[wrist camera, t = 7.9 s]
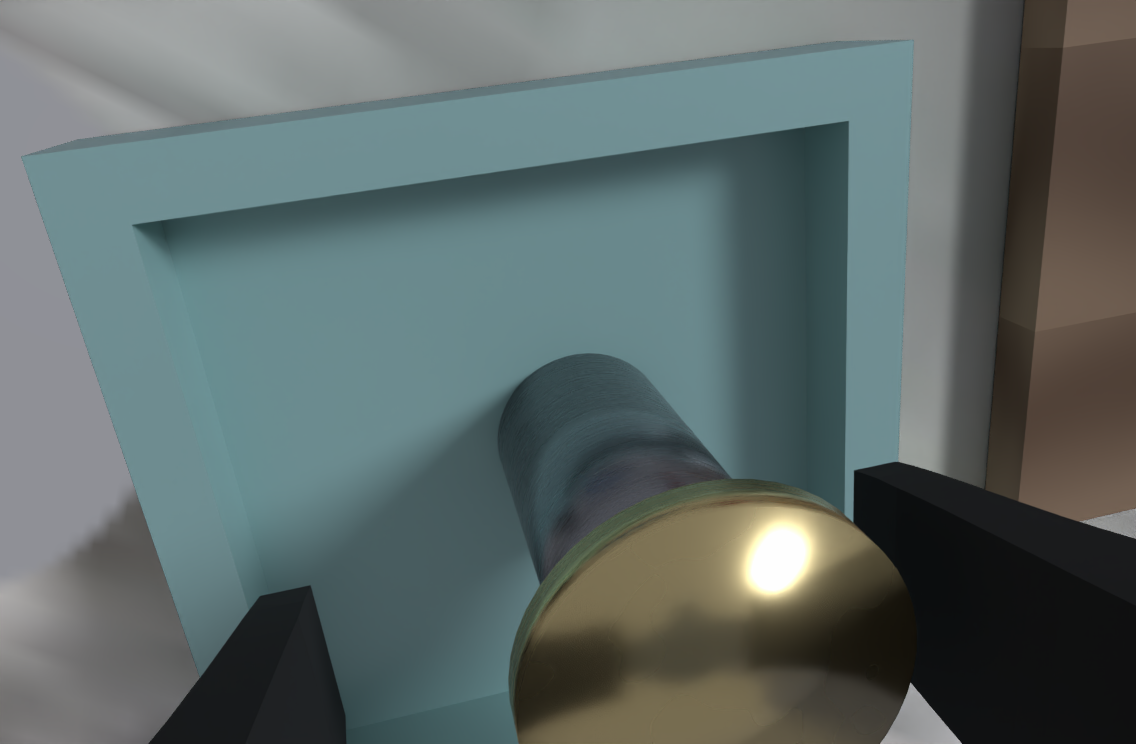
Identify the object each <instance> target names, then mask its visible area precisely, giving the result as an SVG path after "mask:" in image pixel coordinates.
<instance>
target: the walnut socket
mask: <svg viewBox="0 0 1136 744" xmlns="http://www.w3.org/2000/svg"><path fill="white" fill-rule="evenodd" d="M985 490H987V491H990V492H993V493H996V494H999V495H1002V496H1005V497H1007V498H1010V499H1013V500H1016V501H1019V502H1022V503H1025V504H1028V505H1031V506H1033V507H1036V508H1039V509H1042V510H1045V511H1048V512H1051V513H1054V514H1057V515H1060V516H1063V517H1066V518H1069V519H1072V520H1075V521H1078V522H1079V521H1083V520H1088V519H1092V518H1096V517H1100V516H1105V515H1109V514H1113V513H1118V512H1122V511H1126V510H1130V509H1135V508H1136V0H1025V7H1024V19H1023V32H1022V44H1021V56H1020V68H1019V81H1018V93H1017V105H1016V118H1015V130H1014V142H1013V154H1012V167H1011V179H1010V191H1009V204H1008V216H1007V228H1006V240H1005V253H1004V265H1003V277H1002V289H1001V302H1000V314H999V326H998V339H997V351H996V363H995V375H994V388H993V400H992V412H991V425H990V437H989V449H988V461H987V474H986V486H985Z"/></svg>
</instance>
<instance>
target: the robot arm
mask: <svg viewBox="0 0 1136 744" xmlns="http://www.w3.org/2000/svg"><path fill="white" fill-rule="evenodd" d="M853 523H854V524H855V525H856V526H857V527H858V528H859V529H860V530H861V531H862V532H863V533H865V534H866V535H867V536H868V537H869V538H870V539H871V540H872V541H873V542H874V543H875V544H876V545H877V546H878V547H879V548H880V549H881V550H882V551H883V552H884V553H885V554H886V556H887V557H888V558H889V559H890V561H891V562H892V563H893V565H894V566H895V567H896V568H897V570H898V572H899V574H900V575H901V577H902V579H903V581H904V583H905V585H906V587H907V589H908V592H909V595H910V598H911V601H912V604H913V607H914V613H915V620H916V627H917V651H916V658H915V664H914V671H913V675H912V678H911V683H912V684H913V686H914V687H915V688H916V689H917V691H918V692H919V693H920V694H921V695H922V697H923V698H924V699H925V700H926V701H927V703H928V704H929V705H930V706H931V707H932V709H933V710H934V711H935V712H936V713H937V714H938V716H939V717H940V718H941V719H942V720H943V722H944V723H945V724H946V725H947V726H948V727H949V729H950V730H951V731H952V732H953V733H954V735H955V736H956V737H957V738H958V739H959V740H960V742H961V743H962V744H1136V539H1134V538H1131V537H1127V536H1124V535H1121V534H1117V533H1114V532H1111V531H1107V530H1104V529H1100V528H1097V527H1094V526H1091V525H1088V524H1085V523H1082V522H1078V521H1075V520H1072V519H1069V518H1066V517H1063V516H1060V515H1057V514H1054V513H1051V512H1048V511H1045V510H1042V509H1039V508H1036V507H1033V506H1031V505H1028V504H1025V503H1022V502H1019V501H1016V500H1013V499H1010V498H1007V497H1005V496H1002V495H999V494H996V493H993V492H990V491H987V490H985V489H982V488H979V487H976V486H973V485H970V484H967V483H965V482H962V481H959V480H956V479H953V478H950V477H947V476H944V475H941V474H938V473H935V472H932V471H929V470H925V469H922V468H919V467H915V466H912V465H908V464H904V463H900V462H891V463H886V464H881V465H877V466H872V467H867V468H862V469H858V470H854V501H853ZM149 744H346V715H345V712H344V708H343V704H342V700H341V697H340V693H339V689H338V685H337V682H336V678H335V674H334V670H333V667H332V663H331V659H330V655H329V652H328V648H327V644H326V641H325V637H324V633H323V629H322V626H321V622H320V618H319V614H318V611H317V607H316V603H315V599H314V596H313V592H312V588H311V585H309V586H304V587H300V588H295V589H290V590H285V591H281V592H276V593H271V594H266V595H262V596H259V598H258V599H257V600H256V602H255V603H254V604H253V606H252V607H251V608H250V610H249V611H248V612H247V614H246V615H245V616H244V618H243V619H242V620H241V622H240V623H239V624H238V626H237V627H236V629H235V630H234V631H233V633H232V634H231V636H230V637H229V638H228V640H227V641H226V643H225V644H224V645H223V647H222V648H221V650H220V651H219V652H218V654H217V655H216V657H215V658H214V659H213V661H212V662H211V663H210V665H209V666H208V668H207V669H206V670H205V672H204V673H203V674H202V676H201V677H200V678H199V680H198V681H197V682H196V684H195V685H194V686H193V688H192V689H191V690H190V692H189V693H188V694H187V696H186V697H185V698H184V700H183V701H182V702H181V704H180V705H179V706H178V707H177V709H176V710H175V711H174V713H173V714H172V715H171V717H170V718H169V719H168V721H167V722H166V723H165V724H164V726H163V727H162V728H161V729H160V730H159V732H158V733H157V734H156V735H155V736H154V738H153V739H152V740H151V741H150V742H149Z"/></svg>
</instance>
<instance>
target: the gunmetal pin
mask: <svg viewBox="0 0 1136 744" xmlns="http://www.w3.org/2000/svg"><path fill="white" fill-rule="evenodd" d="M498 451H499V456H500V460H501V463H502V466H503V470H504V473H505V476H506V479H507V482H508V485H509V489H510V492H511V495H512V498H513V501H514V505H515V508H516V511H517V514H518V517H519V520H520V524H521V527H522V530H523V533H524V536H525V539H526V543H527V546H528V549H529V552H530V555H531V559H532V562H533V565H534V568H535V571H536V574H537V578H538V581H539V584H540V586H539V588H538V589H537V591H536V593H535V595H534V596H533V598H532V600H531V601H530V603H529V605H528V607H527V608H526V610H525V613H524V615H523V618H522V620H521V623H520V625H519V627H518V630H517V632H516V636H515V640H514V644H513V648H512V652H511V656H510V665H509V675H508V685H509V701H510V705H511V710H512V715H513V720H514V724H515V729H516V734H517V738H518V743H519V744H880V743H881V741H882V740H883V739H884V737H885V736H886V734H887V733H888V731H889V729H890V727H891V726H892V724H893V722H894V720H895V719H896V717H897V715H898V713H899V711H900V709H901V706H902V704H903V701H904V699H905V697H906V694H907V692H908V688H909V685H910V682H911V678H912V675H913V671H914V664H915V658H916V651H917V627H916V620H915V613H914V607H913V604H912V601H911V598H910V595H909V592H908V589H907V587H906V585H905V583H904V581H903V579H902V577H901V575H900V574H899V572H898V570H897V568H896V567H895V566H894V565H893V563H892V562H891V561H890V559H889V558H888V557H887V556H886V554H885V553H884V552H883V551H882V550H881V549H880V548H879V547H878V546H877V545H876V544H875V543H874V542H873V541H872V540H871V539H870V538H869V537H868V536H867V535H866V534H865V533H863V532H862V531H861V530H860V529H859V528H858V527H857V526H856V525H855V524H854V523H853V522H852V521H851V520H850V519H849V518H848V517H847V516H845V515H844V514H843V513H842V512H841V511H840V510H839V509H837V508H836V507H834V506H833V505H831V504H830V503H828V502H827V501H825V500H823V499H822V498H820V497H818V496H816V495H814V494H811V493H809V492H807V491H804V490H802V489H800V488H797V487H793V486H789V485H786V484H782V483H778V482H773V481H765V480H757V479H732V478H731V477H730V476H729V474H728V473H727V472H726V471H725V470H724V468H723V467H722V466H721V465H720V464H719V462H718V461H717V460H716V459H715V458H714V457H713V455H712V454H711V453H710V452H709V451H708V449H707V448H706V447H705V446H704V445H703V443H702V442H701V441H700V440H699V439H698V438H697V436H696V435H695V434H694V433H693V432H692V430H691V429H690V428H689V427H688V426H687V424H686V423H685V422H684V421H683V420H682V419H681V417H680V416H679V415H678V414H677V413H676V411H675V410H674V409H673V408H672V407H671V405H670V404H669V403H668V402H667V401H666V400H665V398H664V397H663V396H662V395H661V394H660V392H659V391H658V390H657V389H656V388H655V386H654V385H653V384H652V383H651V382H650V381H649V379H648V378H647V377H646V376H645V375H644V374H643V373H642V372H641V371H640V370H638V369H637V368H636V367H634V366H633V365H631V364H630V363H628V362H625V361H623V360H621V359H619V358H616V357H612V356H609V355H603V354H593V353H585V354H575V355H570V356H566V357H563V358H560V359H557V360H554V361H552V362H550V363H548V364H546V365H544V366H542V367H541V368H539V369H538V370H536V371H535V372H533V373H532V374H531V375H529V376H528V377H527V378H526V379H525V380H524V381H523V382H522V383H521V384H520V385H519V386H518V387H517V388H516V390H515V391H514V393H513V394H512V395H511V397H510V398H509V400H508V402H507V404H506V406H505V408H504V411H503V413H502V416H501V419H500V424H499V428H498Z"/></svg>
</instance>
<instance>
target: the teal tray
mask: <svg viewBox="0 0 1136 744" xmlns="http://www.w3.org/2000/svg"><path fill="white" fill-rule="evenodd" d="M913 49H914V40H879V41H836V42H829V43H821V44H813V45H805V46H798V47H790V48H782V49H774V50H767V51H759V52H751V53H743V54H736V55H728V56H720V57H712V58H705V59H697V60H689V61H681V62H674V63H666V64H658V65H650V66H643V67H635V68H627V69H619V70H612V71H604V72H596V73H588V74H581V75H573V76H565V77H557V78H550V79H542V80H534V81H527V82H519V83H511V84H503V85H496V86H488V87H480V88H472V89H465V90H457V91H449V92H441V93H434V94H426V95H418V96H410V97H403V98H395V99H387V100H379V101H372V102H364V103H356V104H348V105H341V106H333V107H325V108H317V109H310V110H302V111H294V112H286V113H279V114H271V115H263V116H255V117H248V118H240V119H232V120H224V121H217V122H209V123H201V124H194V125H186V126H178V127H170V128H163V129H155V130H147V131H139V132H132V133H124V134H116V135H108V136H101V137H93V138H85V139H78V140H74V141H71V142H68V143H64V144H61V145H58V146H54V147H52V148H48V149H45V150H41V151H38V152H35V153H31V154H28V155H25V156H22V157H21V158H22V161H23V163H24V167H25V169H26V172H27V175H28V178H29V181H30V184H31V187H32V190H33V193H34V196H35V199H36V201H37V204H38V207H39V210H40V213H41V216H42V219H43V222H44V224H45V228H46V231H47V234H48V236H49V239H50V242H51V245H52V248H53V251H54V254H55V257H56V260H57V262H58V265H59V268H60V271H61V274H62V277H63V280H64V283H65V286H66V289H67V292H68V295H69V297H70V300H71V303H72V306H73V309H74V312H75V315H76V318H77V321H78V324H79V327H80V330H81V333H82V335H83V338H84V341H85V344H86V347H87V350H88V353H89V356H90V359H91V361H92V365H93V368H94V370H95V373H96V376H97V379H98V381H99V385H100V388H101V391H102V394H103V397H104V399H105V403H106V405H107V408H108V411H109V414H110V417H111V420H112V423H113V426H114V429H115V432H116V435H117V438H118V440H119V443H120V446H121V449H122V452H123V455H124V458H125V461H126V464H127V467H128V469H129V472H130V475H131V478H132V481H133V484H134V487H135V490H136V493H137V496H138V499H139V502H140V505H141V507H142V510H143V513H144V516H145V519H146V522H147V525H148V528H149V531H150V534H151V537H152V539H153V542H154V545H155V548H156V551H157V554H158V557H159V560H160V563H161V566H162V569H163V572H164V574H165V577H166V580H167V583H168V586H169V589H170V592H171V595H172V598H173V601H174V604H175V607H176V609H177V612H178V615H179V618H180V621H181V624H182V627H183V630H184V633H185V636H186V639H187V641H188V644H189V647H190V650H191V653H192V656H193V659H194V662H195V665H196V668H197V671H198V674H199V676H200V677H201V676H202V674H203V673H204V672H205V670H206V669H207V668H208V666H209V665H210V663H211V662H212V661H213V659H214V658H215V657H216V655H217V654H218V652H219V651H220V650H221V648H222V647H223V645H224V644H225V643H226V641H227V640H228V638H229V637H230V636H231V634H232V633H233V631H234V630H235V629H236V627H237V626H238V624H239V623H240V622H241V620H242V619H243V618H244V616H245V615H246V614H247V612H248V611H249V610H250V608H251V607H252V606H253V604H254V603H255V602H256V600H257V599H258V598H259V596H262V595H266V594H271V593H276V592H281V591H285V590H290V589H295V588H300V587H304V586H309V585H311V588H312V592H313V596H314V599H315V603H316V607H317V611H318V614H319V618H320V622H321V626H322V629H323V633H324V637H325V641H326V644H327V648H328V652H329V655H330V659H331V663H332V667H333V670H334V674H335V678H336V682H337V685H338V689H339V693H340V697H341V700H342V704H343V708H344V712H345V715H346V744H519V743H518V738H517V734H516V729H515V724H514V720H513V715H512V710H511V705H510V701H509V685H508V675H509V665H510V656H511V652H512V648H513V644H514V640H515V636H516V632H517V630H518V627H519V625H520V623H521V620H522V618H523V615H524V613H525V610H526V608H527V607H528V605H529V603H530V601H531V600H532V598H533V596H534V595H535V593H536V591H537V589H538V588H539V586H540V584H539V581H538V578H537V574H536V571H535V568H534V565H533V562H532V559H531V555H530V552H529V549H528V546H527V543H526V539H525V536H524V533H523V530H522V527H521V524H520V520H519V517H518V514H517V511H516V508H515V505H514V501H513V498H512V495H511V492H510V489H509V485H508V482H507V479H506V476H505V473H504V470H503V466H502V463H501V460H500V456H499V451H498V428H499V424H500V419H501V416H502V413H503V411H504V408H505V406H506V404H507V402H508V400H509V398H510V397H511V395H512V394H513V393H514V391H515V390H516V388H517V387H518V386H519V385H520V384H521V383H522V382H523V381H524V380H525V379H526V378H527V377H528V376H529V375H531V374H532V373H533V372H535V371H536V370H538V369H539V368H541V367H542V366H544V365H546V364H548V363H550V362H552V361H554V360H557V359H560V358H563V357H566V356H570V355H575V354H585V353H593V354H603V355H609V356H612V357H616V358H619V359H621V360H623V361H625V362H628V363H630V364H631V365H633V366H634V367H636V368H637V369H638V370H640V371H641V372H642V373H643V374H644V375H645V376H646V377H647V378H648V379H649V381H650V382H651V383H652V384H653V385H654V386H655V388H656V389H657V390H658V391H659V392H660V394H661V395H662V396H663V397H664V398H665V400H666V401H667V402H668V403H669V404H670V405H671V407H672V408H673V409H674V410H675V411H676V413H677V414H678V415H679V416H680V417H681V419H682V420H683V421H684V422H685V423H686V424H687V426H688V427H689V428H690V429H691V430H692V432H693V433H694V434H695V435H696V436H697V438H698V439H699V440H700V441H701V442H702V443H703V445H704V446H705V447H706V448H707V449H708V451H709V452H710V453H711V454H712V455H713V457H714V458H715V459H716V460H717V461H718V462H719V464H720V465H721V466H722V467H723V468H724V470H725V471H726V472H727V473H728V474H729V476H730V477H731V478H732V479H757V480H765V481H773V482H778V483H782V484H786V485H789V486H793V487H797V488H800V489H802V490H804V491H807V492H809V493H811V494H814V495H816V496H818V497H820V498H822V499H823V500H825V501H827V502H828V503H830V504H831V505H833V506H834V507H836V508H837V509H839V510H840V511H841V512H842V513H843V514H844V515H845V516H847V517H848V518H849V519H850V520H851V521H852V522H853V501H854V470H858V469H862V468H867V467H872V466H877V465H881V464H886V463H891V462H898V450H899V423H900V397H901V370H902V343H903V316H904V290H905V263H906V236H907V209H908V182H909V156H910V129H911V102H912V75H913Z"/></svg>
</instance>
